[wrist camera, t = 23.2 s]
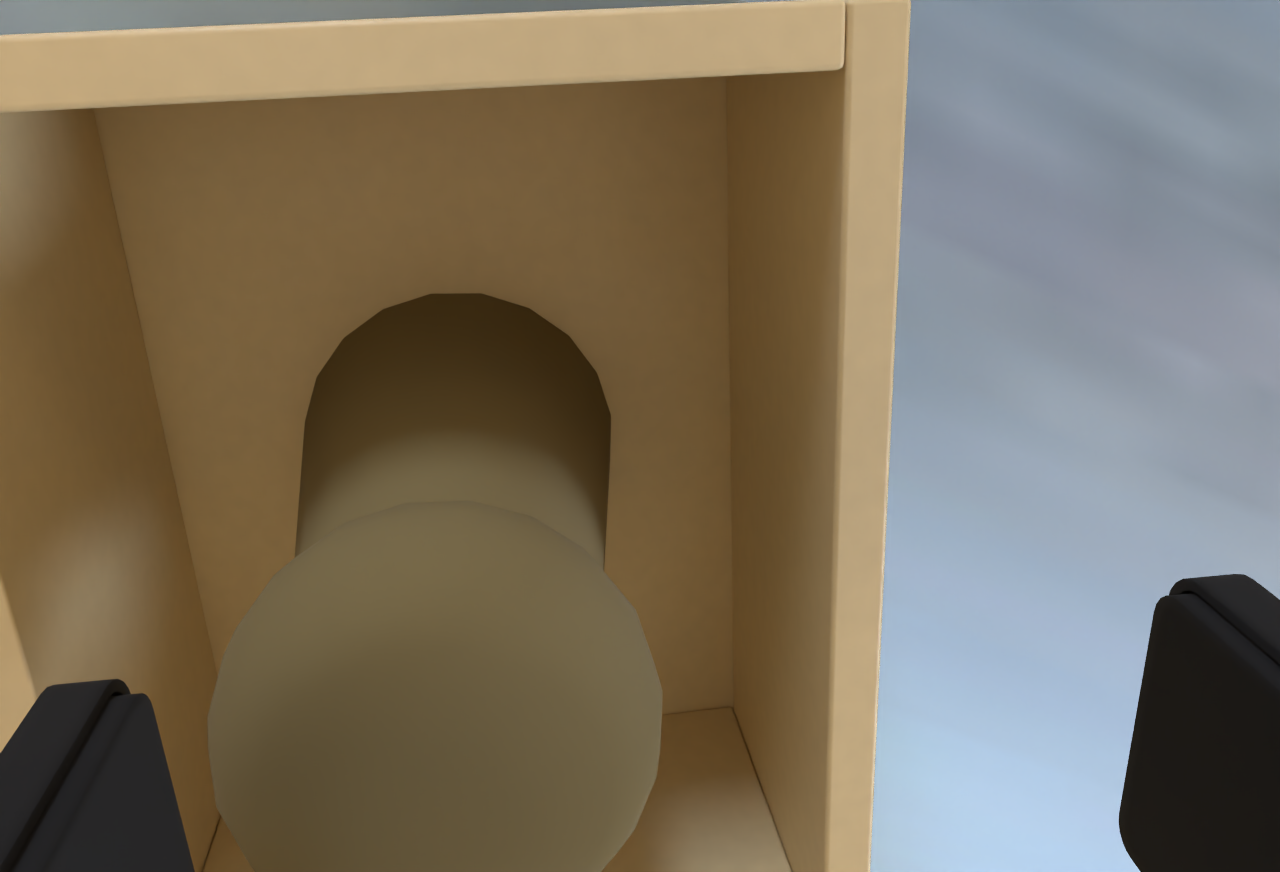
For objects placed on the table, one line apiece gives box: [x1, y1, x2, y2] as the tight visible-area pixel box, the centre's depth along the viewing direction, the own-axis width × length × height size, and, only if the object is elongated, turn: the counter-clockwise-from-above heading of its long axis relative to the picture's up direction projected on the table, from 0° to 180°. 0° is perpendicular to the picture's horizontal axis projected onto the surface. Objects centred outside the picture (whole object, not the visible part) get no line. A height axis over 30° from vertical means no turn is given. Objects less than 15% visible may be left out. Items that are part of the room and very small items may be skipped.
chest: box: [0, 0, 911, 872], centre depth 18 cm, size 16×13×8 cm
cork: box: [207, 293, 663, 872], centre depth 16 cm, size 6×6×11 cm
